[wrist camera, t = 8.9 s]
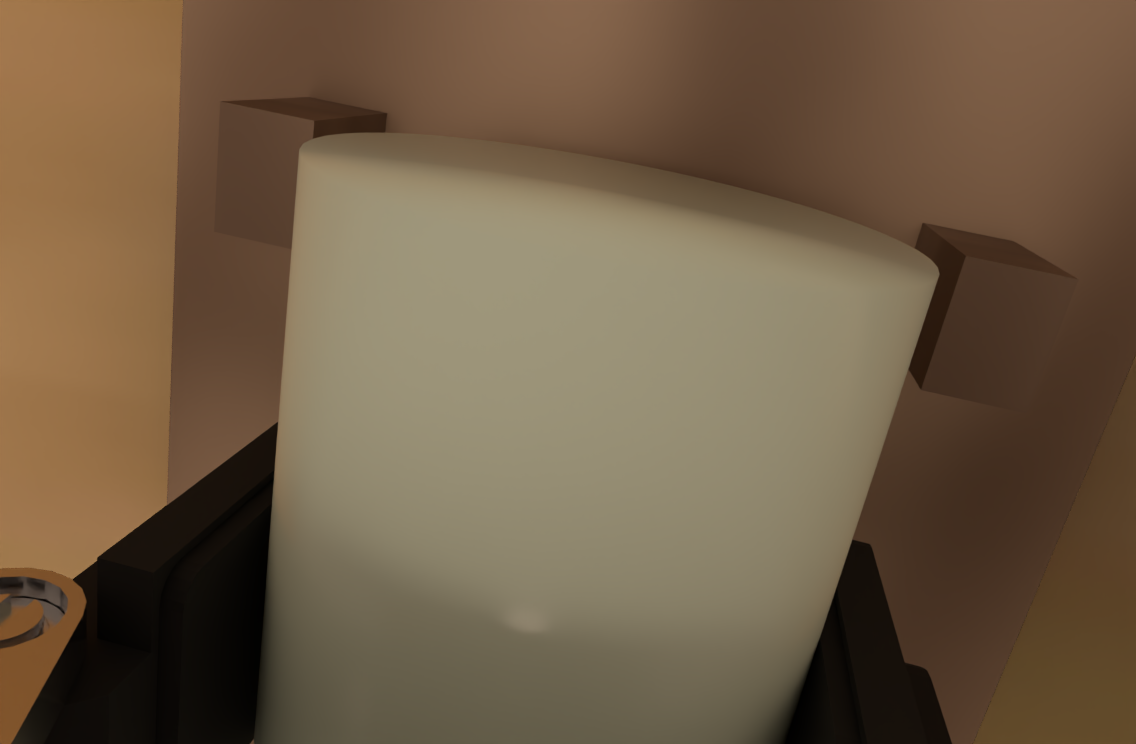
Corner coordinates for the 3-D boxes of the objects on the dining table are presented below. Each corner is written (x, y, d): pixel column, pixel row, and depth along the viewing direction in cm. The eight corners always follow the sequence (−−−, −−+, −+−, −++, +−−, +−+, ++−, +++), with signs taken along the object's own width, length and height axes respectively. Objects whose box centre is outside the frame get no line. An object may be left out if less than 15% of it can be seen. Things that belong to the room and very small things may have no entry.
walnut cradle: (1234, 19, 12) (1422, -3, 8) (843, 986, 18) (868, 1186, 15) (227, -157, 13) (64, -233, 10) (184, 793, 19) (75, 936, 16)
